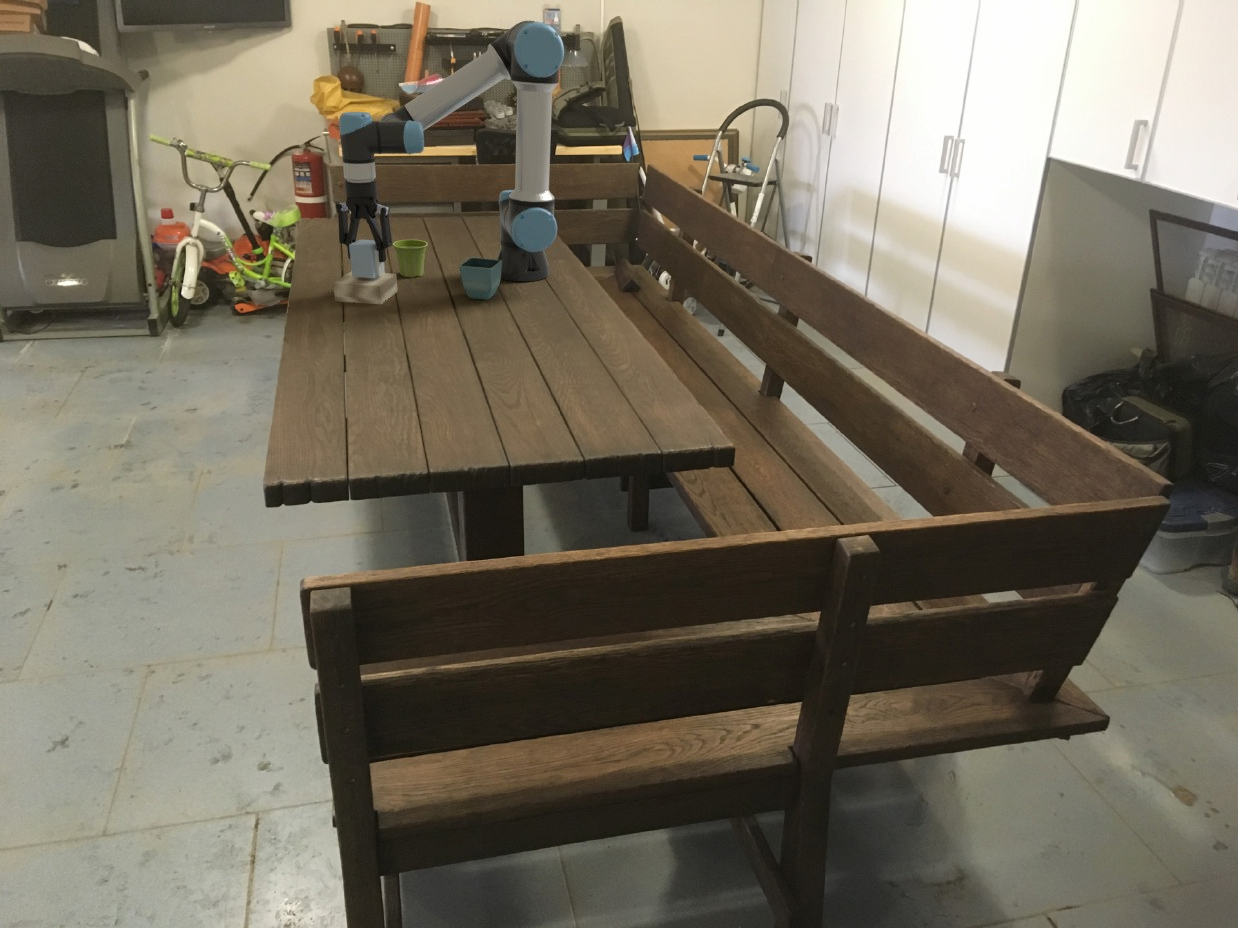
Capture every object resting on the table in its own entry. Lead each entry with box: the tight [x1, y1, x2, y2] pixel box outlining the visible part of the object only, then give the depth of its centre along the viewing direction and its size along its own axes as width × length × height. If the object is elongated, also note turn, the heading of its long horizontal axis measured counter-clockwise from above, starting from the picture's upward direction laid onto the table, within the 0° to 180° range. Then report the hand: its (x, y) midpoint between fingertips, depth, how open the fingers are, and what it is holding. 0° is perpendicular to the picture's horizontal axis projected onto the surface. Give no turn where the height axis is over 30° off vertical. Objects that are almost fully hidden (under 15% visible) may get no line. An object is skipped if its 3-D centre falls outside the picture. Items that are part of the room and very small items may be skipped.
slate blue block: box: [349, 238, 386, 279], centre depth 249 cm, size 6×6×8 cm
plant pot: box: [392, 239, 429, 279], centre depth 270 cm, size 9×9×9 cm
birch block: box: [333, 270, 399, 305], centre depth 251 cm, size 12×12×5 cm
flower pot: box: [458, 257, 502, 300], centre depth 252 cm, size 9×9×9 cm
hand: (368, 273), depth 250 cm, fingers closed on slate blue block, 6 cm apart
